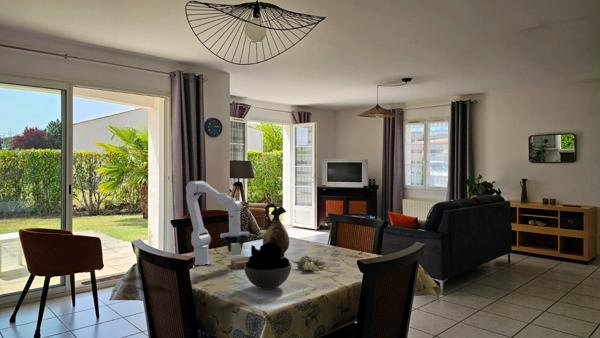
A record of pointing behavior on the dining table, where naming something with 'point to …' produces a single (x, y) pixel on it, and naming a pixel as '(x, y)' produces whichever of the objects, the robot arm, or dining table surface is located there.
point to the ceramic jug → (276, 229)
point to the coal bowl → (267, 266)
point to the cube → (235, 249)
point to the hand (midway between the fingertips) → (235, 250)
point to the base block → (239, 262)
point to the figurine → (310, 264)
